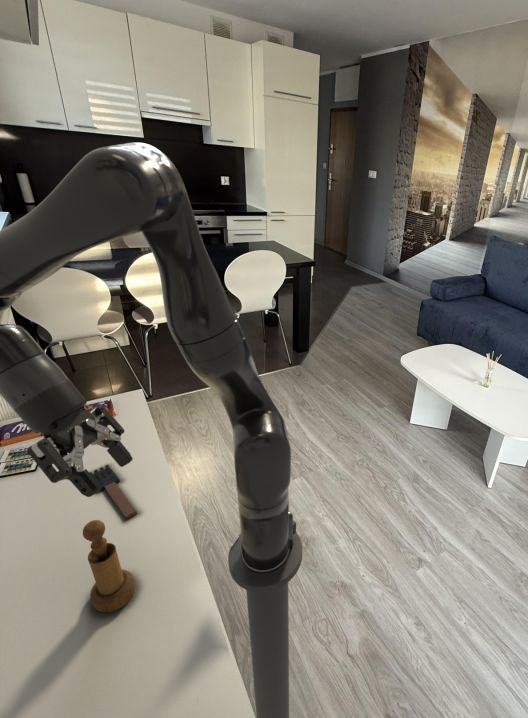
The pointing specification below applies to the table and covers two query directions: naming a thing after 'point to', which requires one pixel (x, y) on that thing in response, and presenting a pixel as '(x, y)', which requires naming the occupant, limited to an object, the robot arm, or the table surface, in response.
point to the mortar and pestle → (107, 571)
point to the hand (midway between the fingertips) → (112, 477)
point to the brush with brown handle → (114, 491)
